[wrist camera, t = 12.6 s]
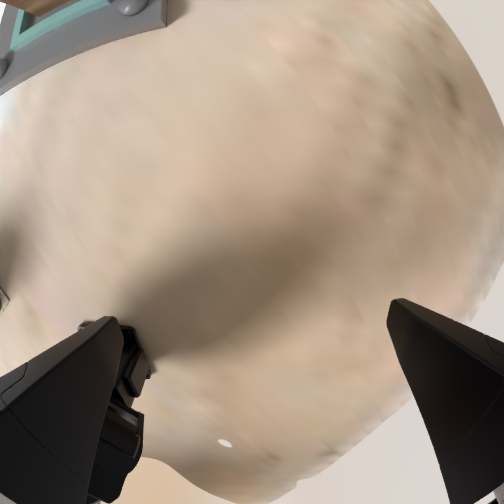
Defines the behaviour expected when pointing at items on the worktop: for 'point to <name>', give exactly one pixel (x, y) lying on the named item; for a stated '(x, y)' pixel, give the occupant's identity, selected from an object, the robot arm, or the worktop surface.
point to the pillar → (36, 5)
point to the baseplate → (68, 33)
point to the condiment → (3, 301)
